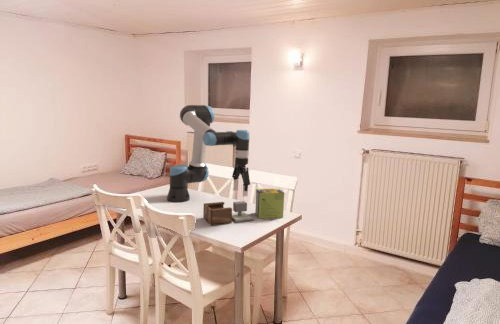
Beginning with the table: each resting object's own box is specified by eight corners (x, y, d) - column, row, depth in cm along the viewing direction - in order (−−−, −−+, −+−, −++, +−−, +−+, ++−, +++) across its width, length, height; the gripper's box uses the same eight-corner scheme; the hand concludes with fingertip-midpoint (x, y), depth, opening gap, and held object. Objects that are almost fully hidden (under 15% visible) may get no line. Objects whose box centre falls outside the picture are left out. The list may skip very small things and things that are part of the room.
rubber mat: (225, 215, 212) (225, 214, 212) (243, 213, 217) (243, 212, 217) (235, 223, 198) (235, 222, 198) (254, 220, 203) (254, 220, 203)
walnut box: (203, 217, 205) (203, 203, 204) (222, 215, 210) (223, 201, 209) (211, 225, 193) (211, 210, 191) (231, 223, 198) (232, 208, 196)
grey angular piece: (228, 215, 210) (228, 200, 209) (243, 213, 215) (243, 199, 213) (235, 221, 200) (236, 205, 199) (251, 219, 205) (252, 204, 203)
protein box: (283, 217, 211) (284, 192, 208) (258, 218, 208) (259, 192, 206) (279, 212, 221) (280, 188, 219) (255, 212, 219) (256, 188, 216)
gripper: (227, 153, 211) (226, 188, 215) (244, 161, 189) (243, 199, 193) (239, 153, 214) (237, 187, 218) (257, 160, 192) (255, 198, 196)
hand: (240, 193), depth 205 cm, fingers open, 13 cm apart
